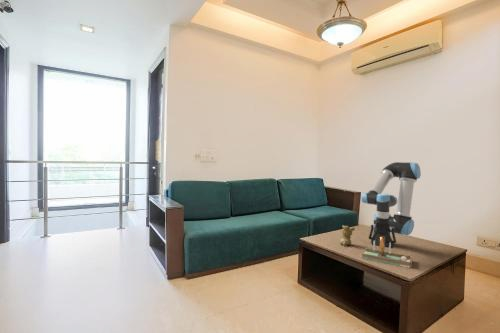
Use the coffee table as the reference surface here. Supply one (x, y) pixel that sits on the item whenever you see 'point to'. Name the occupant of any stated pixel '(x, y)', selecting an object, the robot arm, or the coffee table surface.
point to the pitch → (387, 258)
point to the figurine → (346, 236)
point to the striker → (382, 248)
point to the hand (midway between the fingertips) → (381, 251)
